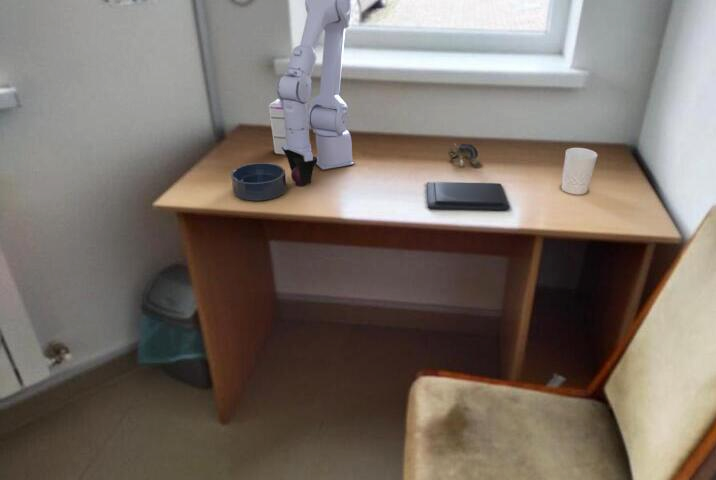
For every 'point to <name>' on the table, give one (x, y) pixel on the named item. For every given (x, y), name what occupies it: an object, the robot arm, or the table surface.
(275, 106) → the syrup box
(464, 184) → the wallet
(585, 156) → the white cup
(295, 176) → the plum
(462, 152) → the chipmunk toy
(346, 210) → the table surface
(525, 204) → the table surface
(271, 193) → the bowl
